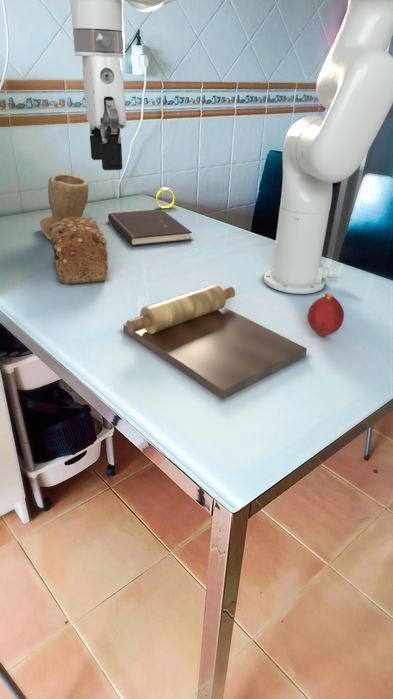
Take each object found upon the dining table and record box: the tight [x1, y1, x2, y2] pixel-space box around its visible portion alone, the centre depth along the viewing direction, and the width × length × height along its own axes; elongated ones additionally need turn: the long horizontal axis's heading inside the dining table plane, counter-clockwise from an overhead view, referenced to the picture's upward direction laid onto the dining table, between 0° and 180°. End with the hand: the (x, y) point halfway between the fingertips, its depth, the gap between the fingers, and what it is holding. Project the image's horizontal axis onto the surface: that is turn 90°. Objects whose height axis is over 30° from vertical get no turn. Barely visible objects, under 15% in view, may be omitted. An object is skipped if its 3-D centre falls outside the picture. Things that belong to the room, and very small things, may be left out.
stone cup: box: [39, 173, 89, 241], centre depth 119 cm, size 15×12×15 cm
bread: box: [49, 216, 109, 285], centre depth 101 cm, size 19×11×10 cm, turn 17°
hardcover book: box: [107, 208, 192, 247], centre depth 128 cm, size 16×23×2 cm
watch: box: [155, 187, 176, 210], centre depth 148 cm, size 6×3×6 cm, turn 109°
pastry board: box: [122, 306, 308, 400], centre depth 77 cm, size 18×24×2 cm
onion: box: [306, 292, 345, 338], centre depth 79 cm, size 6×6×8 cm
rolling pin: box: [125, 284, 236, 334], centre depth 80 cm, size 22×4×4 cm, turn 131°
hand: (106, 164), depth 81 cm, fingers open, 9 cm apart
